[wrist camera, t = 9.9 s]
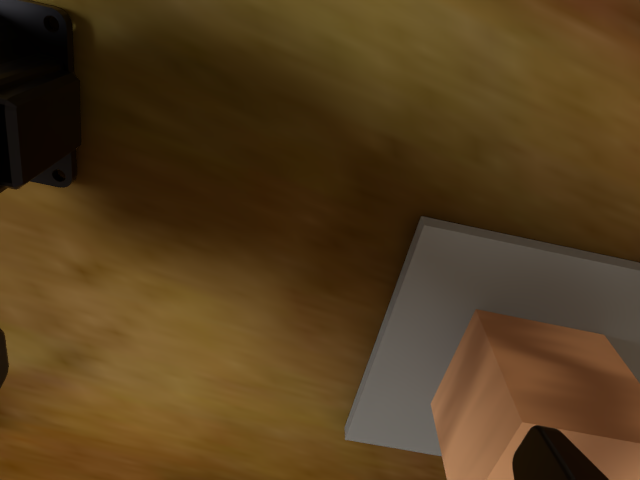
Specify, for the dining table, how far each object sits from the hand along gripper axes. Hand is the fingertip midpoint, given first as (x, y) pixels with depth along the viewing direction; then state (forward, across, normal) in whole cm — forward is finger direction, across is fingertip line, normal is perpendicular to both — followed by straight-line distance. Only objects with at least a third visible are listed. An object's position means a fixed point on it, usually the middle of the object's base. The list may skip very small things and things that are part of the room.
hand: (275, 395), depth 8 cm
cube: (+11, -11, +8) cm, 18 cm away
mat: (+12, -12, +8) cm, 18 cm away
